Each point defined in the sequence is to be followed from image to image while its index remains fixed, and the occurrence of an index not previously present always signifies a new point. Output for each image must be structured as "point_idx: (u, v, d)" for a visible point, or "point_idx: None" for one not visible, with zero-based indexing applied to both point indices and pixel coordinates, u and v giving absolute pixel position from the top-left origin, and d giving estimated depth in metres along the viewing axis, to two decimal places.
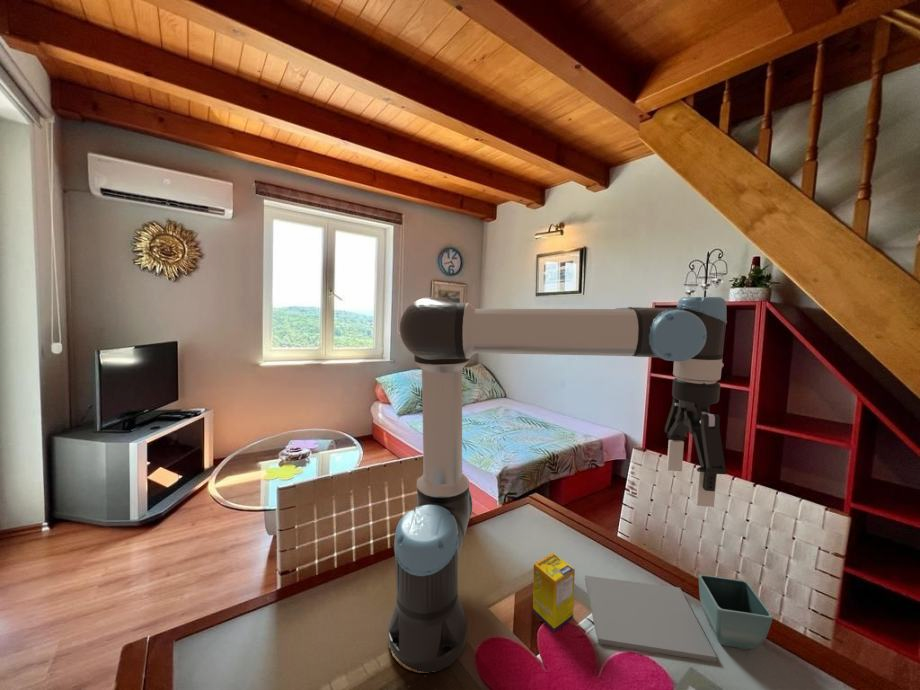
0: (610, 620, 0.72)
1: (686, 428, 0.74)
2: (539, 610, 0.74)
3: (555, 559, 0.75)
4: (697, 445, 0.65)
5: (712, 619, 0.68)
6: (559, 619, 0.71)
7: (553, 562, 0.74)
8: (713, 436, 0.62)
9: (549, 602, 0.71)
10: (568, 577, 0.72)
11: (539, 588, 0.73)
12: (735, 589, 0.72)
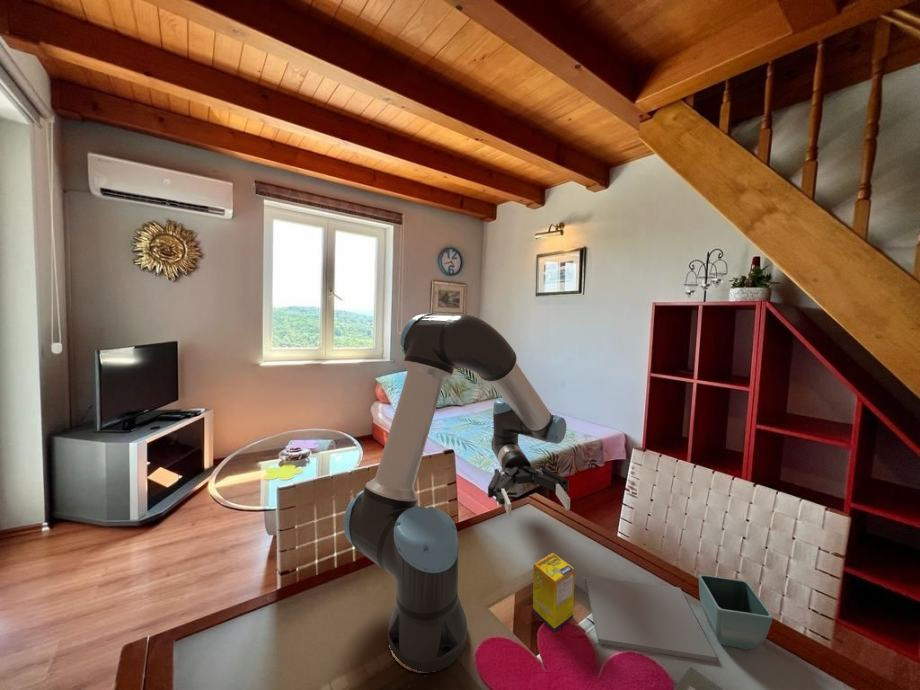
0: (610, 620, 0.72)
1: (508, 487, 0.91)
2: (539, 610, 0.74)
3: (555, 559, 0.75)
4: (545, 477, 0.92)
5: (712, 619, 0.68)
6: (559, 619, 0.71)
7: (553, 562, 0.74)
8: None
9: (549, 602, 0.71)
10: (568, 577, 0.72)
11: (539, 588, 0.73)
12: (735, 589, 0.72)
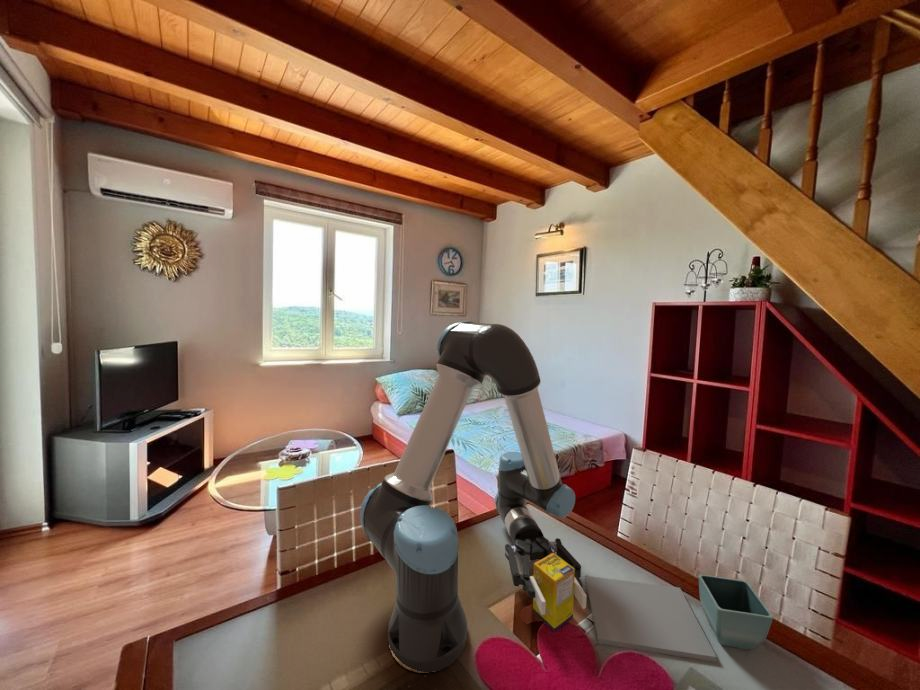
0: (610, 620, 0.72)
1: (529, 568, 0.80)
2: None
3: (555, 558, 0.75)
4: None
5: (712, 619, 0.68)
6: (559, 619, 0.71)
7: (553, 562, 0.74)
8: None
9: (549, 602, 0.71)
10: (568, 577, 0.72)
11: (539, 588, 0.73)
12: (735, 589, 0.72)
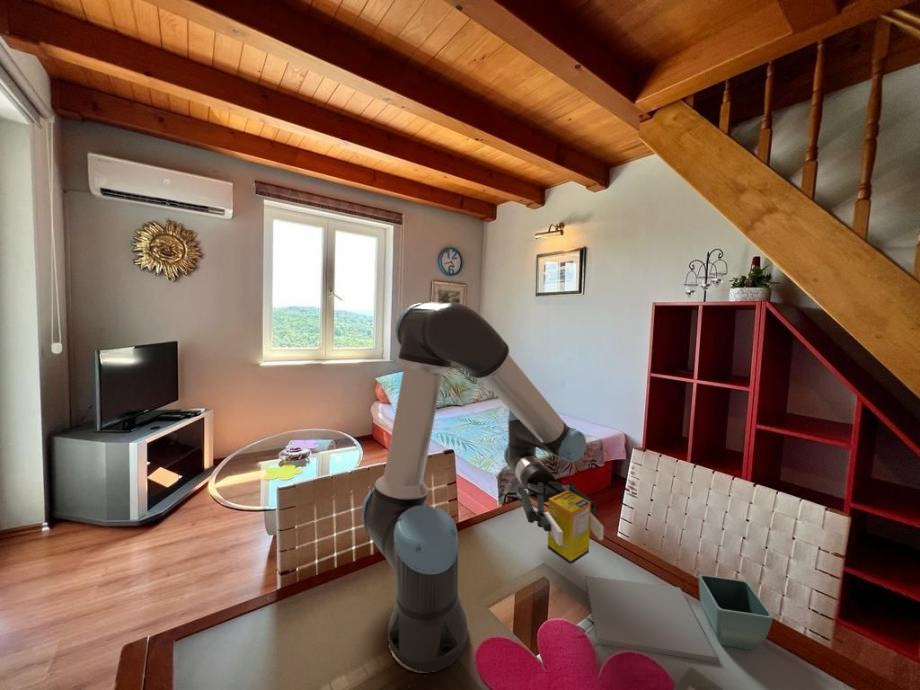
0: (610, 620, 0.72)
1: None
2: (554, 546, 0.73)
3: (570, 494, 0.74)
4: None
5: (712, 619, 0.68)
6: (575, 552, 0.70)
7: (568, 497, 0.73)
8: None
9: (566, 534, 0.70)
10: (584, 510, 0.70)
11: None
12: (735, 589, 0.72)
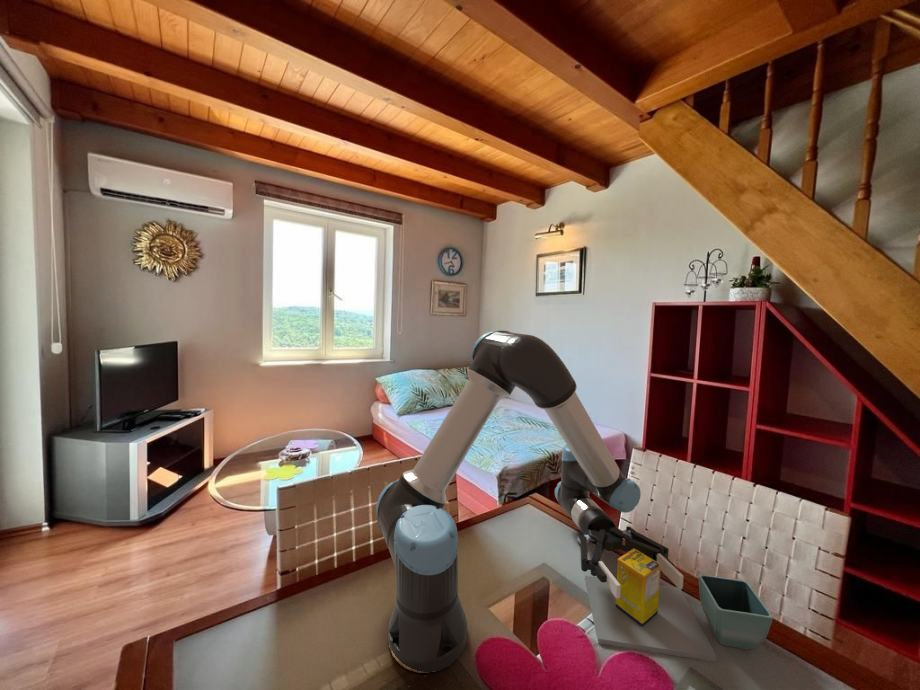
0: (610, 620, 0.72)
1: (600, 556, 0.80)
2: (624, 606, 0.73)
3: (638, 554, 0.75)
4: (640, 543, 0.81)
5: (712, 619, 0.68)
6: (646, 614, 0.71)
7: (637, 557, 0.74)
8: None
9: (637, 597, 0.71)
10: (655, 572, 0.71)
11: (624, 583, 0.73)
12: (735, 589, 0.72)
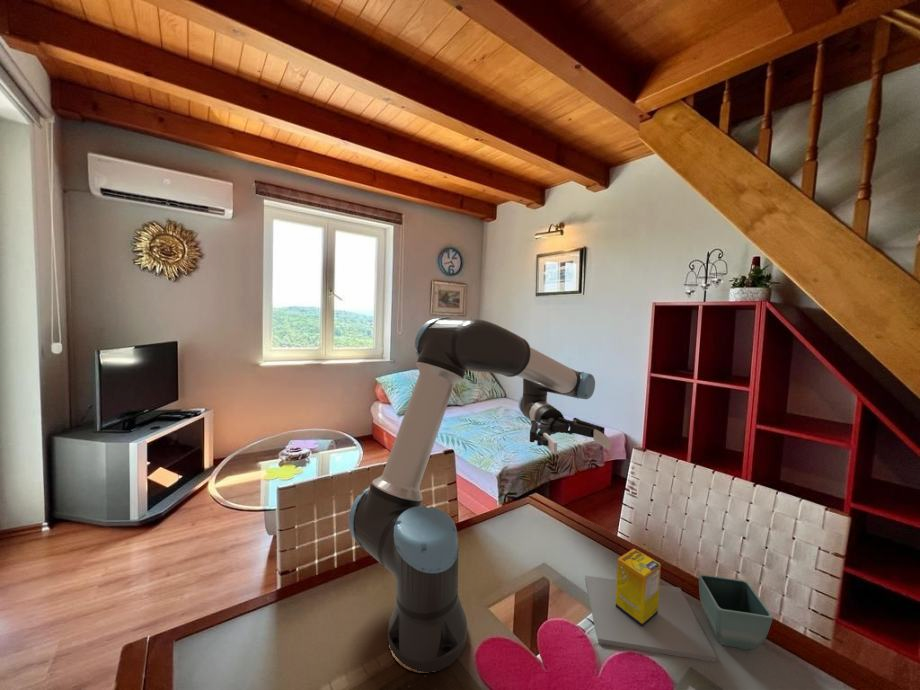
0: (610, 620, 0.72)
1: (547, 435, 0.95)
2: (624, 606, 0.73)
3: (638, 554, 0.75)
4: (582, 425, 0.96)
5: (712, 619, 0.68)
6: (646, 614, 0.71)
7: (637, 557, 0.74)
8: None
9: (637, 597, 0.71)
10: (655, 572, 0.71)
11: (624, 583, 0.73)
12: (735, 589, 0.72)
